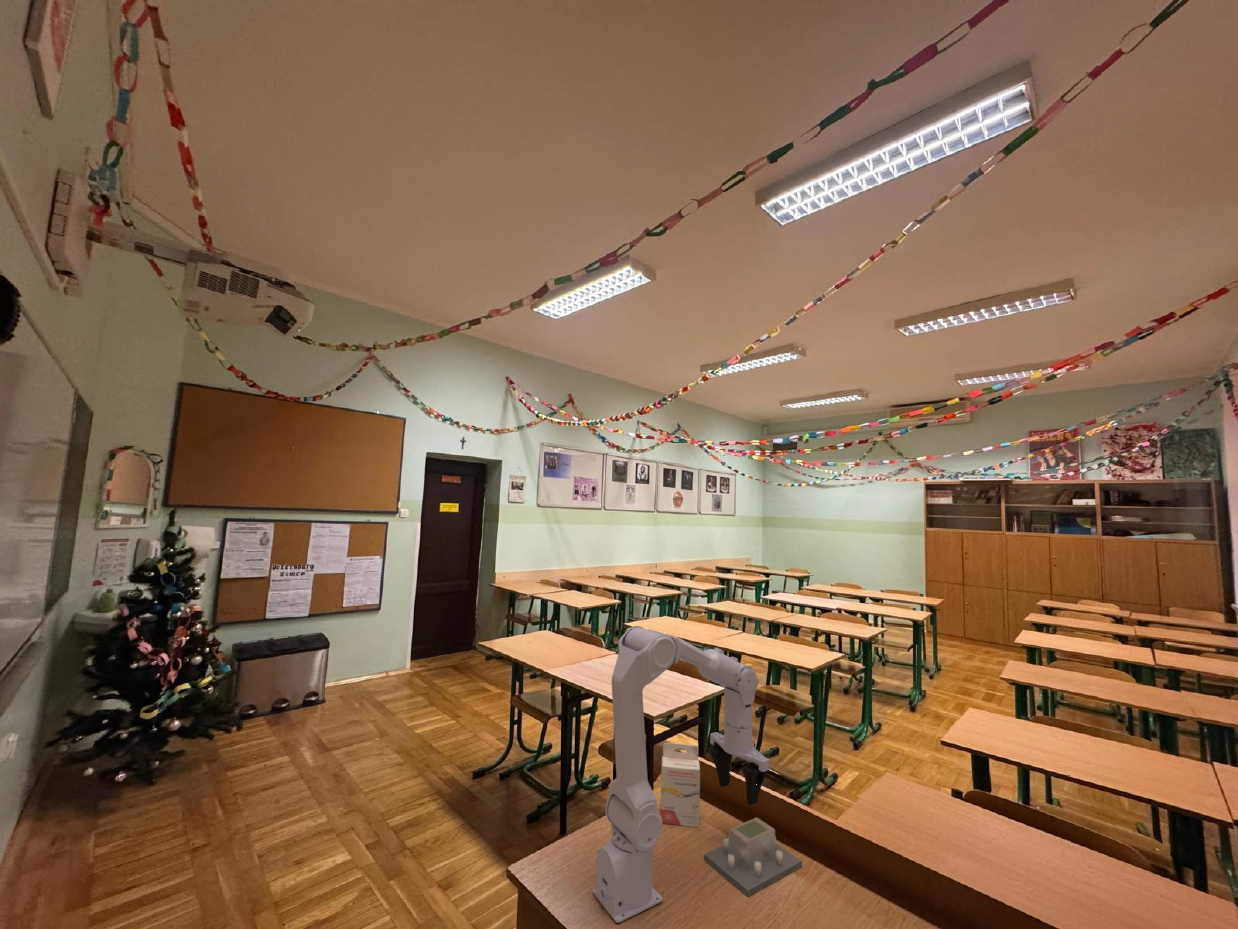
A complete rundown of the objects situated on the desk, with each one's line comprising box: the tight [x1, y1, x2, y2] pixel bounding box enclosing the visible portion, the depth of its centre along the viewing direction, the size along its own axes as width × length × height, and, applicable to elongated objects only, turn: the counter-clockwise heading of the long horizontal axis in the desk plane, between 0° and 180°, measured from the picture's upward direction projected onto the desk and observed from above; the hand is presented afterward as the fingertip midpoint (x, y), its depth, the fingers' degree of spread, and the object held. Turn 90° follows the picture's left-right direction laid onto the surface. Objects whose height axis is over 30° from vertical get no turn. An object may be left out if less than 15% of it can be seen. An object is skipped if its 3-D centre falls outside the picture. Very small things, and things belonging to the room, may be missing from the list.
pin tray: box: [703, 835, 803, 898], centre depth 92 cm, size 15×11×3 cm
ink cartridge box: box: [659, 742, 701, 828], centre depth 106 cm, size 9×5×15 cm, turn 84°
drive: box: [728, 817, 776, 872], centre depth 92 cm, size 8×4×5 cm, turn 123°
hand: (738, 794), depth 97 cm, fingers open, 7 cm apart
